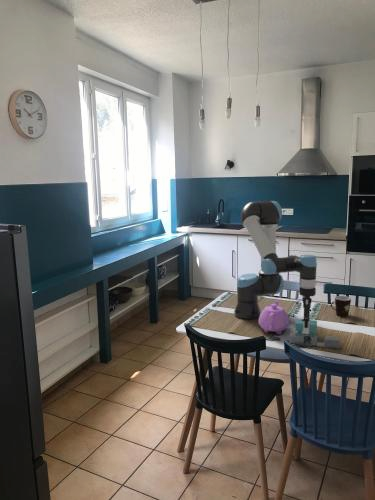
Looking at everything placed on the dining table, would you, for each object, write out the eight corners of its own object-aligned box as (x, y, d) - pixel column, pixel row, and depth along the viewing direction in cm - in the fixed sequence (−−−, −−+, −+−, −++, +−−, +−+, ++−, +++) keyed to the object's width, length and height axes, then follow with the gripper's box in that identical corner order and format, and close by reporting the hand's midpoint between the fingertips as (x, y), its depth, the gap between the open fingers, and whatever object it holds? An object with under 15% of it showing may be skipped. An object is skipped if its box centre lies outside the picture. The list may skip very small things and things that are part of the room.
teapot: (262, 320, 214) (262, 296, 211) (291, 323, 208) (292, 299, 206) (255, 335, 193) (255, 309, 191) (287, 339, 188) (287, 312, 185)
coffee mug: (347, 312, 223) (348, 295, 221) (352, 317, 214) (353, 300, 212) (326, 312, 224) (327, 295, 222) (330, 317, 215) (331, 300, 214)
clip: (294, 337, 190) (295, 323, 188) (295, 333, 195) (296, 318, 194) (316, 339, 187) (316, 325, 185) (316, 335, 192) (317, 320, 191)
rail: (289, 343, 183) (289, 335, 182) (290, 340, 187) (290, 332, 186) (339, 349, 176) (339, 340, 175) (338, 345, 180) (339, 337, 179)
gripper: (315, 294, 174) (314, 338, 177) (316, 281, 197) (314, 321, 200) (298, 292, 176) (297, 337, 179) (300, 280, 200) (299, 320, 203)
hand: (306, 329), depth 190 cm, fingers open, 13 cm apart
